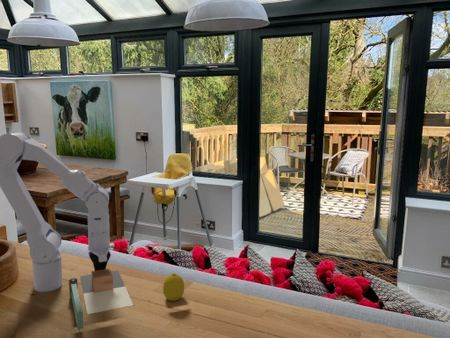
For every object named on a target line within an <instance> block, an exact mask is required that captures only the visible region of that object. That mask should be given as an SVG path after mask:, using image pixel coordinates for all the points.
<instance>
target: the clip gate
mask: <svg viewBox="0 0 450 338" xmlns="http://www.w3.org/2000/svg"><path fill="white" fill-rule="evenodd" d="M77 287H78V284H77V285H76V284H71V294H72V300H71V302H72V307H73V312H74V313H73V314H74V317H75V322H76V329H77V330H82V329H84V311H83V307H82V301H81V299H80V298H81V297H80V295H79V290H78V289H77Z"/></svg>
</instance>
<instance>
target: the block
mask: <svg viewBox="0 0 450 338" xmlns="http://www.w3.org/2000/svg"><path fill="white" fill-rule="evenodd" d="M111 271H112V270H111V268H106V269H104V270H98V271H95V270H91V274H92V287H93V290H94V293H96V292H101V291H107V290H113V275H112V272H111Z"/></svg>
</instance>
